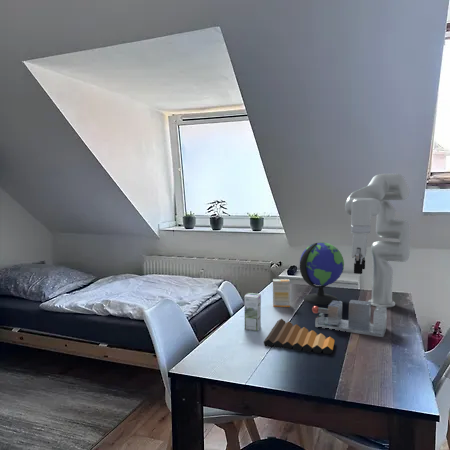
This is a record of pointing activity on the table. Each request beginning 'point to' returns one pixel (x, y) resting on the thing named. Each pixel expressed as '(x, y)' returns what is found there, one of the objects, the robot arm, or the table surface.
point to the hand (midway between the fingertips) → (359, 271)
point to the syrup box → (252, 311)
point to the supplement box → (281, 293)
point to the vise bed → (374, 329)
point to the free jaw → (331, 312)
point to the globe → (321, 270)
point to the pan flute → (298, 338)
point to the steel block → (359, 314)
